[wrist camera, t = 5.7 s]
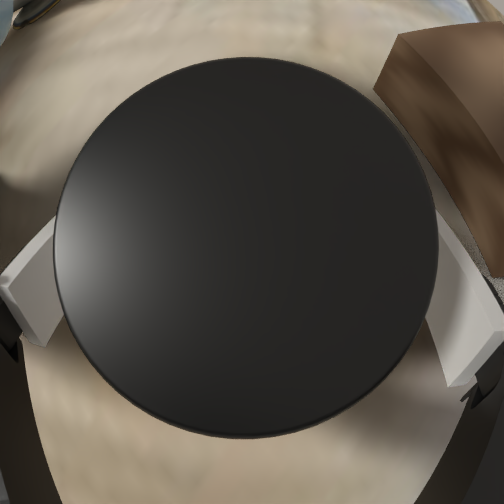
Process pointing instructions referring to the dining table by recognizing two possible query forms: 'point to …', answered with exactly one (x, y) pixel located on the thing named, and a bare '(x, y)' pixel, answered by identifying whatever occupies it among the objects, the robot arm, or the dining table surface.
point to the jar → (245, 248)
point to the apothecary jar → (30, 11)
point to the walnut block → (456, 118)
